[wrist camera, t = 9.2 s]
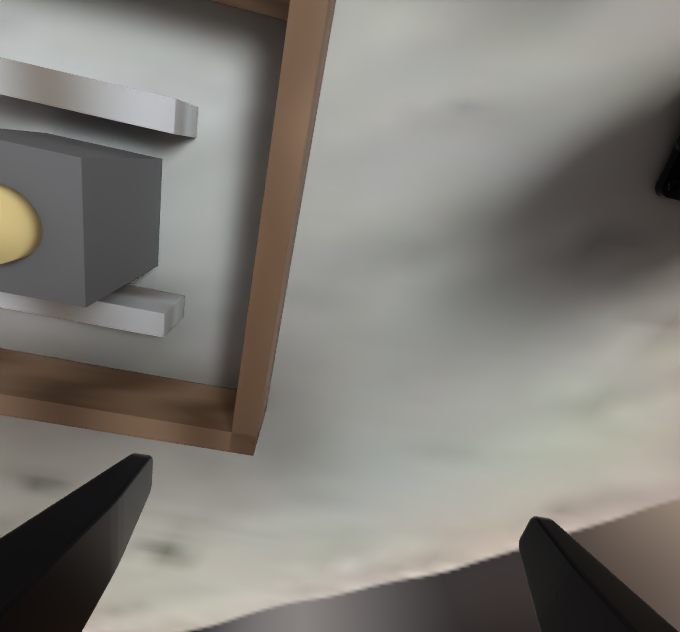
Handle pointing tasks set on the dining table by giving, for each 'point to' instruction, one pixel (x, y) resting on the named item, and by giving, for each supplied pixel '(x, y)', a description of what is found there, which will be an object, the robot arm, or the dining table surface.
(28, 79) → the wooden serving tray
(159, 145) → the dining table surface
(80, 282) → the grey block
